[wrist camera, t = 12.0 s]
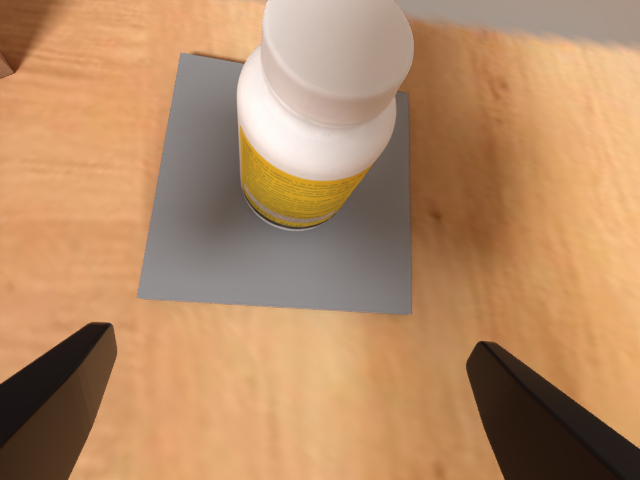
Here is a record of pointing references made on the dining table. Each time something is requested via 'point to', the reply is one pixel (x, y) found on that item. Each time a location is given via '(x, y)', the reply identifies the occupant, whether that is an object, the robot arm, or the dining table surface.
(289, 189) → the supplement bottle
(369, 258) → the grey mat
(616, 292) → the dining table surface
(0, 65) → the walnut screen
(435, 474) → the dining table surface
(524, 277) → the dining table surface
